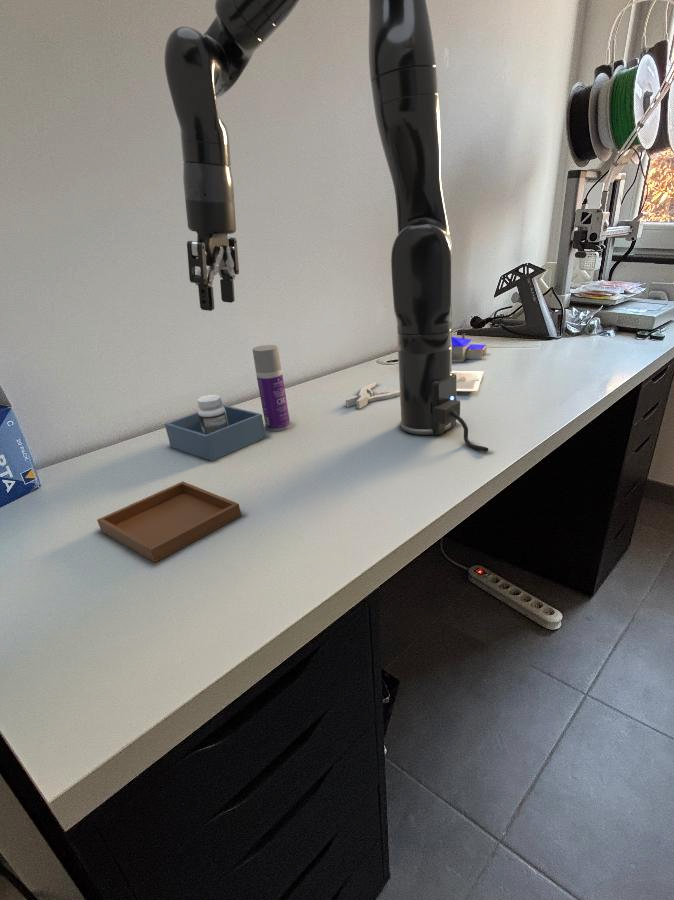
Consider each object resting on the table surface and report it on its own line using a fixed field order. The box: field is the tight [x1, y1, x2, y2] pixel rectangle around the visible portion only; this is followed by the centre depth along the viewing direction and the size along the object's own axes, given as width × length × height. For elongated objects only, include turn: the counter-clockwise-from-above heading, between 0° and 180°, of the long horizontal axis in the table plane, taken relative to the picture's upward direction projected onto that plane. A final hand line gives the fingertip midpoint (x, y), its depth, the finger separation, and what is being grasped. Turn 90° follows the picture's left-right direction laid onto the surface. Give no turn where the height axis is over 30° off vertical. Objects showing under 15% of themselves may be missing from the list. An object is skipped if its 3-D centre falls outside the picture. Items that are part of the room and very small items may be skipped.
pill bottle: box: [197, 394, 229, 435], centre depth 95 cm, size 5×5×8 cm
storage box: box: [164, 404, 267, 462], centre depth 96 cm, size 12×12×4 cm
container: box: [252, 344, 291, 432], centre depth 98 cm, size 5×5×15 cm
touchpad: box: [452, 370, 484, 392], centre depth 118 cm, size 8×15×2 cm, turn 166°
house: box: [452, 333, 488, 363], centre depth 137 cm, size 11×14×6 cm
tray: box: [96, 480, 242, 563], centre depth 71 cm, size 13×13×2 cm
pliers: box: [345, 381, 400, 409], centre depth 114 cm, size 10×2×15 cm
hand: (218, 305), depth 92 cm, fingers open, 8 cm apart
